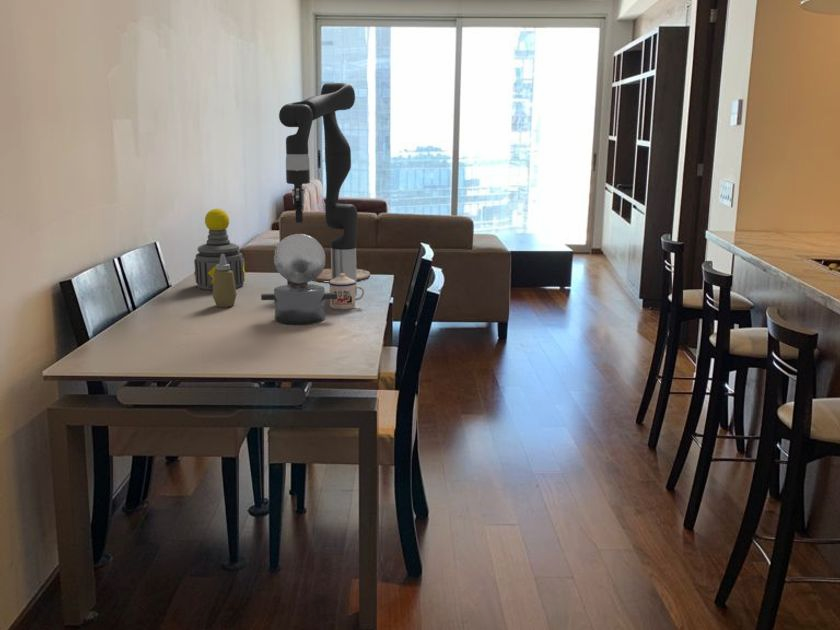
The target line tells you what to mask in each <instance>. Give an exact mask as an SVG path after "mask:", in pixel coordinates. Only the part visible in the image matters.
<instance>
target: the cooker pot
mask: <svg viewBox="0 0 840 630" xmlns="http://www.w3.org/2000/svg"><path fill="white" fill-rule="evenodd" d="M260 299H261V301H273V302H274V321H275V322H276V323H278V324H280V325H281V324H282V325H288V326H304V325H305V326H307V325H314V323H315V324H318V323H322V322H323V321H326V300H330V299H337V293H330V292H325V287H324V286H322V285H318V284H313V283H312V284H310V283H307V284H291V285H287V284H285V285H280V286H276V287H275V288H273V293H261V295H260Z"/></svg>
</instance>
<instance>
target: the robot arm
mask: <svg viewBox="0 0 840 630" xmlns="http://www.w3.org/2000/svg"><path fill="white" fill-rule="evenodd" d="M355 101H356V93H355V89H354V87H353V86H352V85H351V84H350V83H348V82H327V83H324V84H323V85H322V86H321V91H320V94H319V95H313V96H311V97H310V96H309V97H308V98H305V99H304V100H301V101H295V102H290V103H287V104H284V105H283V106H282V107H281V108H280V110H279V113H278V119H279V122H280V123H281V124H282V125H283V126H284V127H287V128H297V131H296V133H294V134H291V135H287V136H286V138H285V154H286V156H285V180H286V181H285V182H286V183H287V184H288V185H294V186H293V188H292V189H291V195H292V203H293V206H294V207H293V208H294V211H295V223H297V224H301V223H303V222H304V221H303V220H304V217H303V215H304V213H303V211H304V203H305V193H306V190H305V188H303V185H307V184H310V183H311V178H310V177H311V173H310V171H311V170H310V157H309V138H310V133H311V130H312V124H313V122H314V121H315V120H316V119H317V120H318V119H319V118H321V117H322V121H323V130H324V131H323V134H324V162H325V163H324V165H325V182H326V185H325V186H326V187H325V189H326V190H325V214H324V215H325V222H326V226H327V227H328V228H329V229H332V230H343V233H342V235H341V236H339V237H337V238H334V239H332V240H331V241H330V264H331V265H330V267H331V268H330V269H331V275H332V280H333V279H335V278H336V277H339V274H341V273H344V274H345V276H346V277H348V278H350V279H353V280H355V282H356V284H355V286H358V285H357V283H358V281H357V273H356V269H357V242H358V241H357V240H358V221H359V220H358V218H359V216H358V209H357V207H356V206H355V204H351V203H339V202H340V201H339V198H340V197H339V196H340V192H341V191H340V190H341V187H342V186H343V184H344V182H345V180H346V178H347V177H348V175H349V173H350V170H351V169H352V168H351V167H352V154H351V153H352V151H351V146H350V144H349V142H348V140H347V138H346V137H345V135H344V133H343V132H342V130H341V129H340V127H339V124H338V122H337V121H338V120H337V116H336V112H338V111H348V110H350V109H351V108H353V107H354V105H355ZM357 292H358V288H355V295H357Z"/></svg>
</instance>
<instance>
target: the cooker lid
mask: <svg viewBox="0 0 840 630" xmlns="http://www.w3.org/2000/svg"><path fill="white" fill-rule="evenodd" d="M273 264H274V266H275V269H276V270H277V272H278V273H279V275H280V276H281V277H282V278H284V279H285V280H286V281H287V280H289V281H291V282H295V283H306V282H307V283H309V282H313V281H314V279H315V278H317V277H318V276H319V275H320V274H321V272H322V271H323V269H325V267H326V253H325V248H324V247H323V246H322V244H321V243H320V241H318V240H317V239H316V238H314V237H313V236H311V235H308V234H304V233H295V234H290V235H288V236H286V237H284V238H283V239H282V240H281V241H280V242H278V244H277V246H276V247H275V251H274V255H273Z"/></svg>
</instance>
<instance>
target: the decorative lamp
mask: <svg viewBox="0 0 840 630" xmlns="http://www.w3.org/2000/svg"><path fill="white" fill-rule="evenodd" d="M229 217H230V216H229V215H228V213H227V212H226V211H225V210H223V209H221V208H213V209H210V210H209V211H207V213H206V215H205V217H204V224H205V226H206V228H207V229H208V234H207V240H206V243H204V244H201V245H199V246H198V247H197V252H198V253H196V255H195V258H194V261H193V263H194V272H193V275H194V277H195V283H196V285H197V287H198V288H199V289H201V290H204V291H205V290H206V291H213V279H214V272H215V271H217V270H216V265H217V264H219V262H220V256H221V254H224V255H225V259H226V262H227V264H230V270H231V271H233V274H234V281H235V287H236V289H238V288H239V289H240V288H241V287H242V286H244V283H245V281H246V280H245V277H246V270H245V259H244V257H243V253H242V252H240V245H238V244H236V243H233V242H231V241H230V239H229V235H228V234H227V233H228V231H227V229H228V227H229V224H230V218H229Z"/></svg>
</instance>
